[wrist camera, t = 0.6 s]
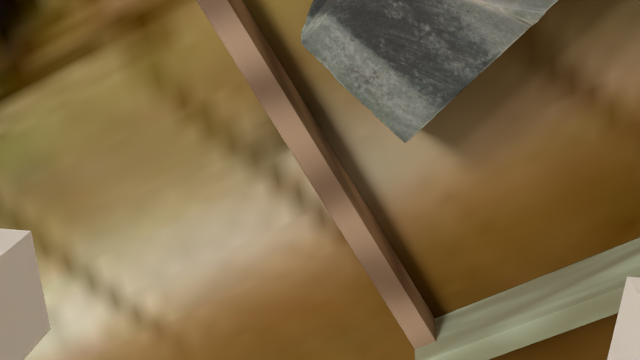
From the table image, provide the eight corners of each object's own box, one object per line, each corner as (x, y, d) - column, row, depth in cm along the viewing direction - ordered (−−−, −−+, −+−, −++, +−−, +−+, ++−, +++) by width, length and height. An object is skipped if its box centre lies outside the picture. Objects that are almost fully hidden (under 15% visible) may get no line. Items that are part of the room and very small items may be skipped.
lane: (203, -17, 35) (178, -10, 32) (598, -281, 28) (626, -312, 24) (425, 342, 42) (425, 382, 39) (785, 204, 35) (828, 236, 32)
